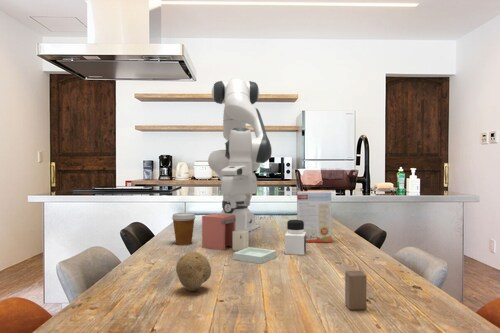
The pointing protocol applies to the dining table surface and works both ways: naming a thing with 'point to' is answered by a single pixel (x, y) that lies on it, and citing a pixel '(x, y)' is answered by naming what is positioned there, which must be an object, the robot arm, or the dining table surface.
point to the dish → (254, 255)
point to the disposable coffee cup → (183, 227)
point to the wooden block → (355, 290)
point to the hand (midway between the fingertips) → (240, 207)
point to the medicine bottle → (295, 238)
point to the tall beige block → (240, 240)
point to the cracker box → (315, 214)
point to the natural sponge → (193, 270)
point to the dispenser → (217, 231)
